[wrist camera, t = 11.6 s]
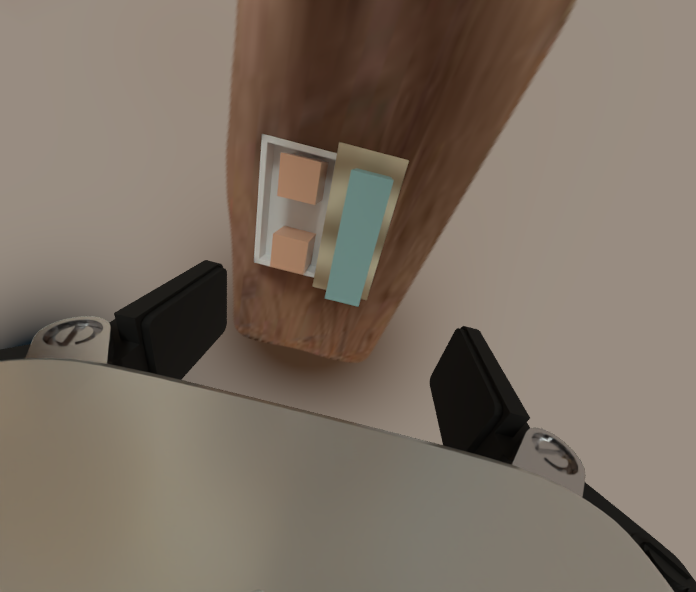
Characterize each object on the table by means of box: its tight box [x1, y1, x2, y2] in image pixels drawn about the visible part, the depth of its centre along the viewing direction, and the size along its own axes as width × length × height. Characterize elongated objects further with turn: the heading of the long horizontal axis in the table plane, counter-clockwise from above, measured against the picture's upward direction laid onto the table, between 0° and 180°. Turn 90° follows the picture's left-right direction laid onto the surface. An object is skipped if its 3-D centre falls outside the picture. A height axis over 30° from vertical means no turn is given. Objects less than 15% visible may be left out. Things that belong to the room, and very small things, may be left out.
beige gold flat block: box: [312, 142, 409, 300], centre depth 30 cm, size 16×7×3 cm, turn 167°
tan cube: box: [277, 152, 329, 205], centre depth 28 cm, size 4×4×4 cm
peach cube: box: [270, 226, 316, 275], centre depth 31 cm, size 4×4×4 cm
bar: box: [325, 168, 394, 307], centre depth 26 cm, size 12×4×6 cm, turn 167°
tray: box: [254, 134, 337, 278], centre depth 30 cm, size 14×8×2 cm, turn 167°
